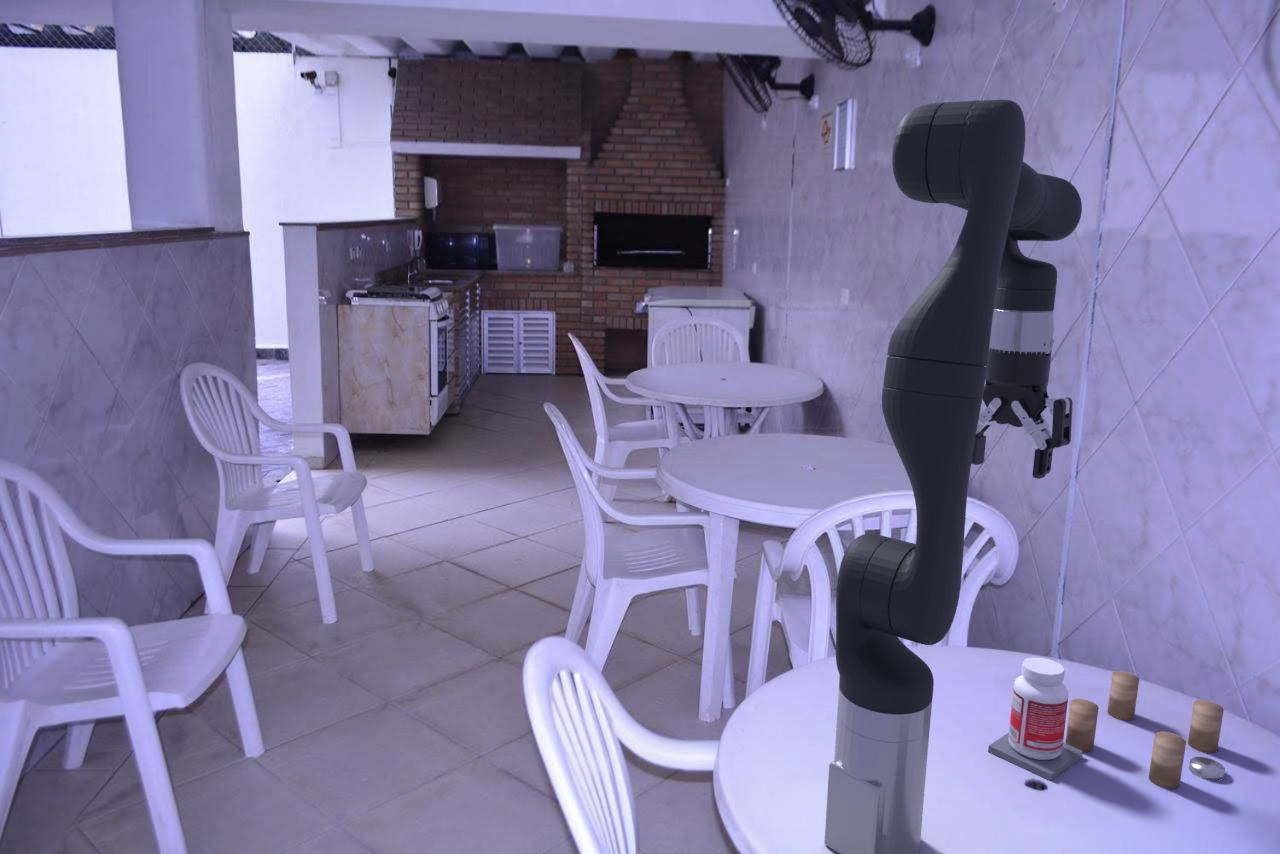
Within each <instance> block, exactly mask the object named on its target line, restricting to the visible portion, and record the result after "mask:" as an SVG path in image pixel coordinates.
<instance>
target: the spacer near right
mask: <svg viewBox="0 0 1280 854" xmlns="http://www.w3.org/2000/svg"><path fill="white" fill-rule="evenodd" d="M1098 716H1099V706H1098V704H1096V703H1094V702H1093V701H1091V700H1088V699H1084V698H1074V699H1071V700H1070V702H1069V709H1068V717H1067V727H1066V733H1065V734H1066V735H1065V744H1068V745H1070V746H1072V747H1075V748H1077V749H1079V750H1082V751H1083V753H1090V752H1092V751H1093V750H1094V748H1095V747H1094V746H1095V740H1096V739H1095V738H1096V730H1097V724H1098V723H1097V722H1098Z"/></svg>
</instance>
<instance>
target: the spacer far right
mask: <svg viewBox="0 0 1280 854" xmlns="http://www.w3.org/2000/svg"><path fill="white" fill-rule="evenodd" d="M1139 684H1140V678H1139V677H1138V676H1137V675H1136V674H1134V673H1131V672H1128V671H1123V670H1116V671H1113V672H1112V674H1111V681H1110V689H1109V690H1110V691H1109V698H1108V703H1107V704H1108V705H1107V714H1108V715H1109V716H1111V717H1112V718H1114V719H1116V720H1120V721H1126V722H1127V721H1132V720H1134V719H1135V716H1136V715H1135V713H1136V707H1137V706H1136V705H1137V697H1138V692H1139Z"/></svg>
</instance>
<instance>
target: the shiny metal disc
mask: <svg viewBox="0 0 1280 854" xmlns="http://www.w3.org/2000/svg"><path fill="white" fill-rule="evenodd" d="M1188 770H1189V771H1190V773H1192V774H1193V775H1194V776H1196V777H1198V778H1200V777H1201V779H1203V780H1206V779H1207V780H1206V781H1211V780H1212V782H1219V780H1220V781H1222V780H1224V777H1225V772H1226V768H1225V767H1224V765H1223V764H1222V763H1220V762H1218V761H1217V760H1215V759H1212V758H1209V757H1204V756H1194V757H1191V758H1190V760H1189V765H1188ZM1221 779H1222V780H1221Z"/></svg>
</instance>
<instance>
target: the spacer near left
mask: <svg viewBox="0 0 1280 854" xmlns="http://www.w3.org/2000/svg"><path fill="white" fill-rule="evenodd" d="M1186 745H1187V742H1186V740H1185V739H1184V738H1183V736H1180V735H1179V734H1175V733H1173V732H1169V731H1157V732H1155V733H1154V737H1153V745H1152V751H1151V758H1150V759H1151V760H1150V766H1149V772H1148V773H1149V774H1148V779H1149V781H1150V783H1152V784H1154V785H1156V786H1157V787H1160V788H1164V789H1167V790H1176V789H1178V788H1180V785H1181V778H1182V772H1183V767H1184V766H1183V765H1184V759H1185V753H1186Z"/></svg>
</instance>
